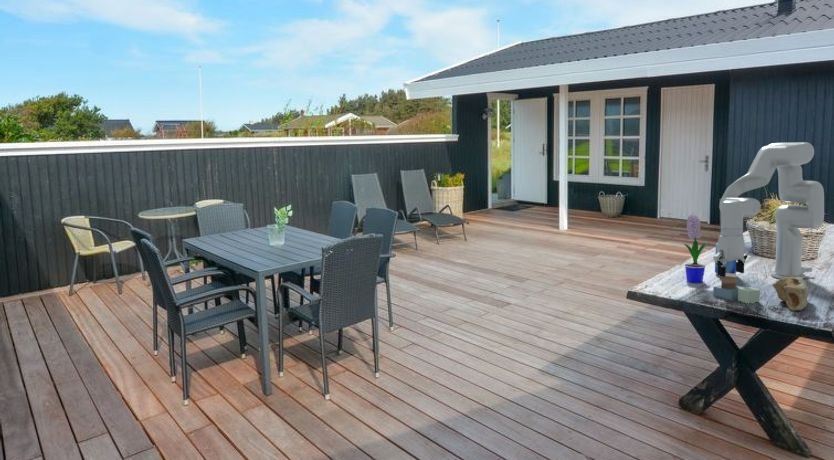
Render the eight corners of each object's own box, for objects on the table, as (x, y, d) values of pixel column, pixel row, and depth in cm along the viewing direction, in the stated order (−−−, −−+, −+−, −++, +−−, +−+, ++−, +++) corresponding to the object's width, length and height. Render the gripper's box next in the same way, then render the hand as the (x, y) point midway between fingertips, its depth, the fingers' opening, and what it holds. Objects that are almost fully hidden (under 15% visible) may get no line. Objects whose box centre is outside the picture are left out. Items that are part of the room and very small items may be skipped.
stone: (825, 312, 199) (826, 285, 197) (787, 312, 202) (789, 284, 200) (804, 299, 215) (806, 273, 214) (770, 298, 218) (771, 273, 216)
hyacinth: (712, 283, 242) (714, 214, 237) (686, 283, 244) (688, 215, 240) (706, 278, 251) (708, 212, 246) (681, 278, 253) (682, 212, 248)
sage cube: (748, 299, 219) (748, 286, 218) (759, 302, 214) (759, 289, 213) (737, 300, 218) (738, 288, 217) (748, 304, 213) (749, 291, 212)
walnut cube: (735, 289, 220) (736, 276, 219) (721, 288, 223) (721, 275, 222) (736, 286, 224) (736, 273, 224) (721, 285, 227) (722, 272, 226)
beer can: (733, 273, 258) (735, 238, 255) (737, 277, 250) (739, 242, 248) (713, 272, 261) (714, 238, 258) (716, 277, 253) (717, 241, 250)
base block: (727, 293, 229) (728, 283, 228) (745, 297, 222) (745, 288, 221) (713, 296, 226) (713, 286, 225) (730, 301, 219) (731, 291, 218)
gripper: (739, 227, 226) (738, 269, 229) (706, 233, 220) (706, 275, 223) (756, 230, 219) (755, 272, 222) (723, 236, 213) (722, 279, 216)
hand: (730, 274), depth 223 cm, fingers open, 9 cm apart
